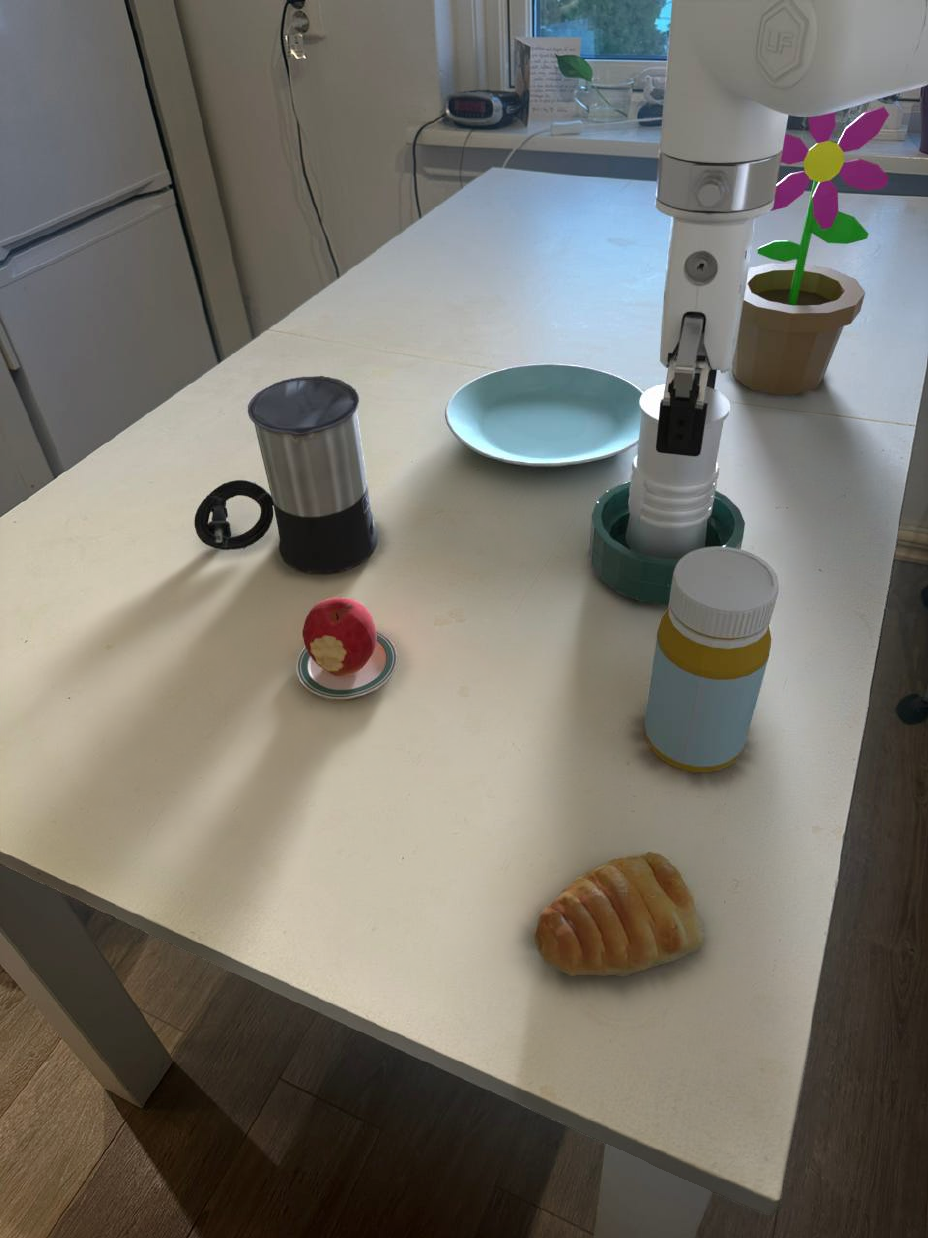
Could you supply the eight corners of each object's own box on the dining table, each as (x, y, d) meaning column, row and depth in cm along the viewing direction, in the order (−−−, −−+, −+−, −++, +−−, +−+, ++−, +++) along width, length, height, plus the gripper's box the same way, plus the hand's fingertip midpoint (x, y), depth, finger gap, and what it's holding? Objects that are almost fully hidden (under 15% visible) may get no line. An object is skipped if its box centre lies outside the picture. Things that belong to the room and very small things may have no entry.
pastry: (564, 1014, 48) (566, 982, 46) (515, 911, 53) (515, 877, 51) (710, 952, 51) (720, 918, 48) (650, 859, 55) (657, 823, 53)
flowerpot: (707, 395, 99) (755, 93, 79) (720, 341, 109) (766, 61, 89) (840, 410, 96) (927, 98, 75) (842, 353, 106) (919, 63, 85)
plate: (483, 373, 106) (482, 351, 104) (668, 396, 99) (670, 373, 98) (415, 469, 90) (413, 446, 88) (628, 503, 84) (630, 478, 82)
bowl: (739, 533, 80) (749, 487, 77) (727, 623, 71) (738, 575, 68) (603, 514, 83) (607, 469, 80) (575, 597, 74) (578, 551, 71)
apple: (412, 683, 68) (405, 621, 63) (312, 716, 66) (298, 654, 61) (379, 620, 73) (370, 559, 69) (286, 649, 71) (271, 588, 67)
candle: (608, 546, 78) (621, 392, 68) (675, 527, 80) (698, 374, 70) (647, 591, 73) (667, 434, 63) (718, 570, 75) (749, 413, 65)
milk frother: (392, 561, 79) (374, 414, 69) (218, 608, 75) (173, 460, 65) (348, 482, 89) (327, 343, 79) (193, 520, 85) (150, 380, 75)
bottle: (738, 788, 59) (783, 625, 49) (635, 765, 61) (658, 603, 51) (747, 714, 64) (790, 552, 54) (651, 694, 66) (675, 534, 56)
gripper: (770, 226, 49) (726, 486, 60) (783, 146, 61) (744, 375, 72) (635, 220, 51) (617, 473, 62) (674, 144, 63) (653, 367, 74)
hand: (685, 420), depth 67 cm, fingers open, 9 cm apart
